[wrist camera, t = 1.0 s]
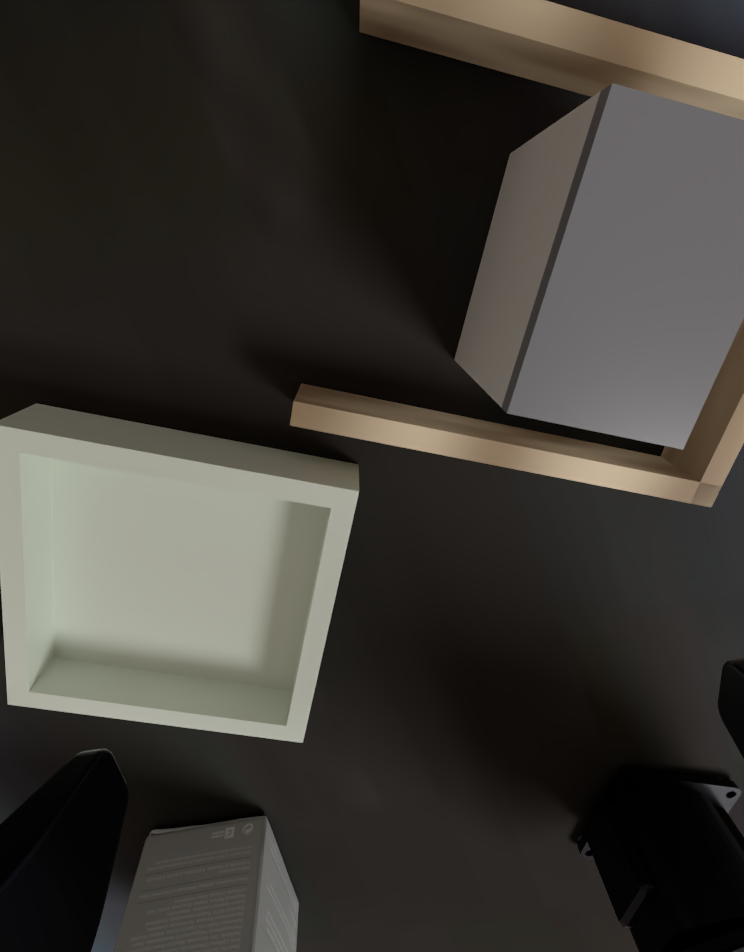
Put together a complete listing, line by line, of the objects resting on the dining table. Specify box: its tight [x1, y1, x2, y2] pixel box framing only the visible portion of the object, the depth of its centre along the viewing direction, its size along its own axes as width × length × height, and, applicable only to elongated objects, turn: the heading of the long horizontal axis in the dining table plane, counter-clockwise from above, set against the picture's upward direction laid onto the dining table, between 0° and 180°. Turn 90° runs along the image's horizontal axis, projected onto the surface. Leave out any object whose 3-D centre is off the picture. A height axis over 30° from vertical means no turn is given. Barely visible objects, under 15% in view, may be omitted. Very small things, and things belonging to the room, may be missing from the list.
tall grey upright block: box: [454, 83, 744, 450], centre depth 14 cm, size 4×6×7 cm
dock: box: [290, 0, 744, 507], centre depth 16 cm, size 15×12×2 cm
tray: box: [0, 403, 359, 743], centre depth 20 cm, size 12×12×2 cm
